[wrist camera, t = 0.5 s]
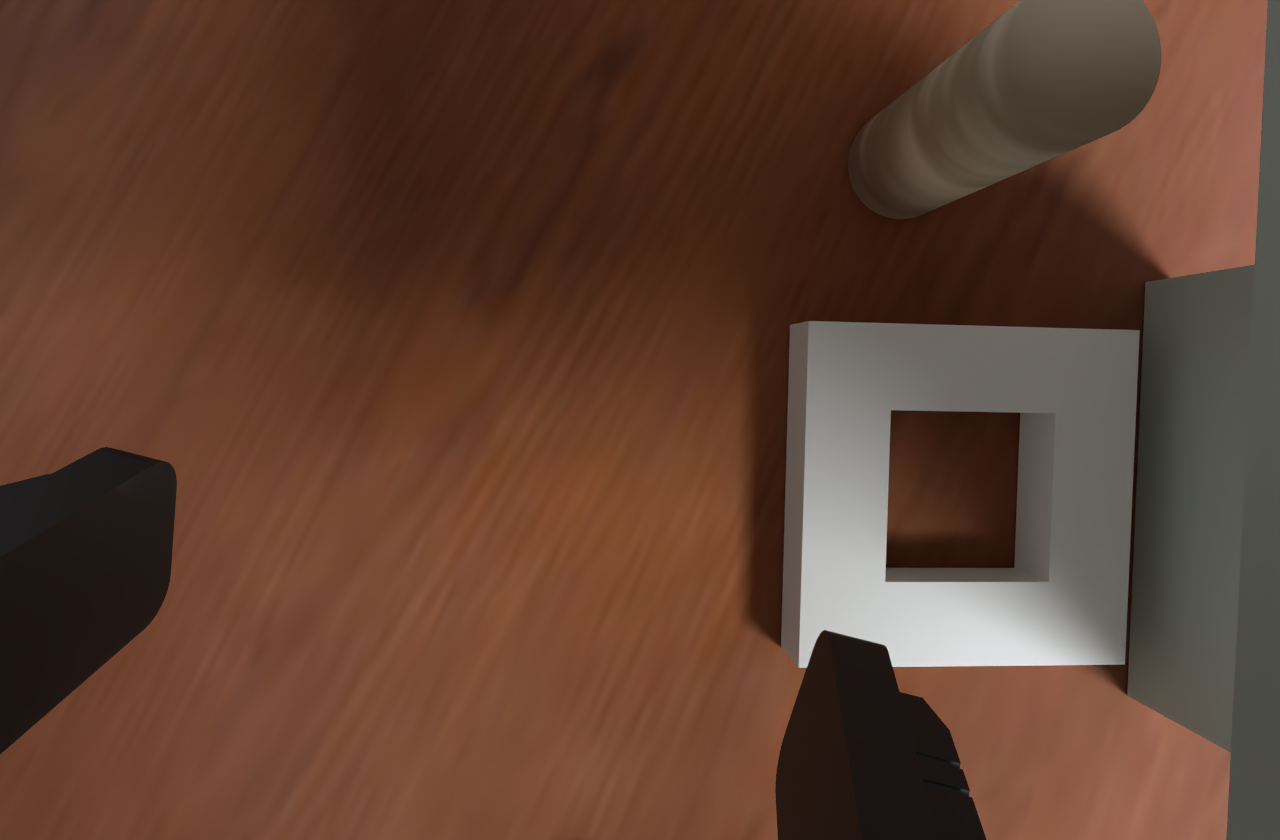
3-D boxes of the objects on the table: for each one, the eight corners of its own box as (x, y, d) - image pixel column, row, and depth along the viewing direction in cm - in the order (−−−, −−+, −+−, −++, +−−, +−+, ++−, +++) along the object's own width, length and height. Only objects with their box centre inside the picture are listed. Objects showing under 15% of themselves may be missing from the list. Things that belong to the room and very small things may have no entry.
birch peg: (849, 107, 35) (1008, -34, 23) (954, 113, 35) (1165, -24, 23) (845, 217, 35) (1002, 134, 23) (950, 221, 35) (1157, 142, 23)
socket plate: (789, 324, 35) (808, 321, 32) (1098, 333, 36) (1139, 330, 33) (781, 647, 35) (798, 667, 33) (1085, 645, 36) (1124, 664, 34)
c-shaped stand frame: (738, 268, 34) (1376, -94, 8) (1175, 283, 36) (2905, 24, 10) (726, 700, 35) (1281, 1694, 9) (1156, 695, 37) (2722, 1512, 10)
